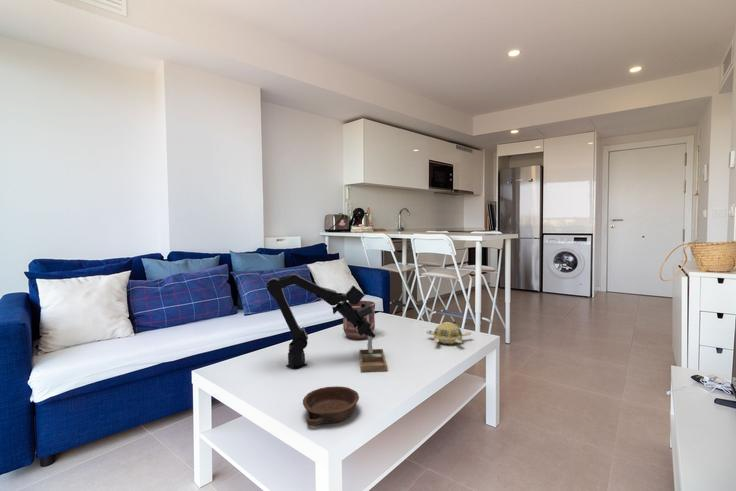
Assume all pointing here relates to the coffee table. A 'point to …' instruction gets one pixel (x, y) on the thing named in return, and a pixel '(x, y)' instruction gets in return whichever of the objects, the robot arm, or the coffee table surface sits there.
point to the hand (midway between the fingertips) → (373, 335)
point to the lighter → (369, 345)
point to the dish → (330, 404)
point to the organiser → (373, 361)
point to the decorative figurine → (447, 333)
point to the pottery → (352, 331)
